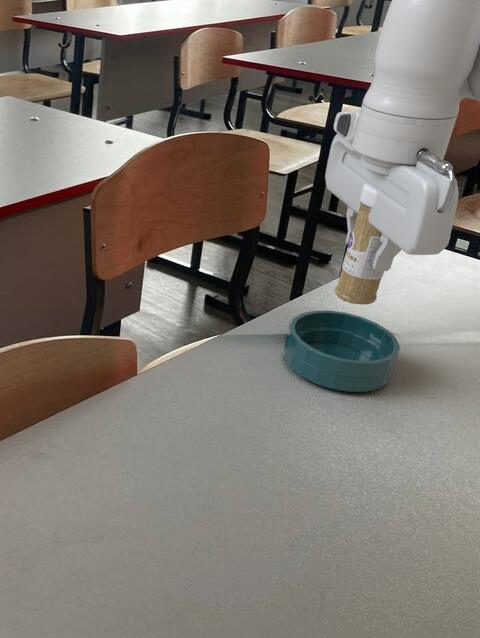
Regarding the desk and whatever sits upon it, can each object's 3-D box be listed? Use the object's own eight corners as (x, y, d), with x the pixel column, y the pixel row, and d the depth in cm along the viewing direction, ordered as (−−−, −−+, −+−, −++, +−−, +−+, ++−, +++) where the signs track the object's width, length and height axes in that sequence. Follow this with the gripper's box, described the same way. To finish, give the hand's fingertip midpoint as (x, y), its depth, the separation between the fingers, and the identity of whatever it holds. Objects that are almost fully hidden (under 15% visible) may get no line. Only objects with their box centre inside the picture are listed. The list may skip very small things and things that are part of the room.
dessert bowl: (359, 339, 98) (368, 309, 96) (409, 395, 88) (420, 362, 85) (267, 341, 98) (274, 310, 95) (306, 397, 87) (315, 364, 85)
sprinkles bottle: (328, 287, 90) (357, 178, 83) (366, 288, 90) (398, 179, 83) (342, 306, 86) (374, 193, 79) (383, 307, 86) (418, 194, 79)
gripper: (492, 169, 70) (445, 301, 76) (382, 110, 87) (352, 222, 94) (426, 169, 69) (385, 301, 76) (329, 110, 87) (302, 222, 94)
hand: (366, 257), depth 85 cm, fingers closed on sprinkles bottle, 4 cm apart
